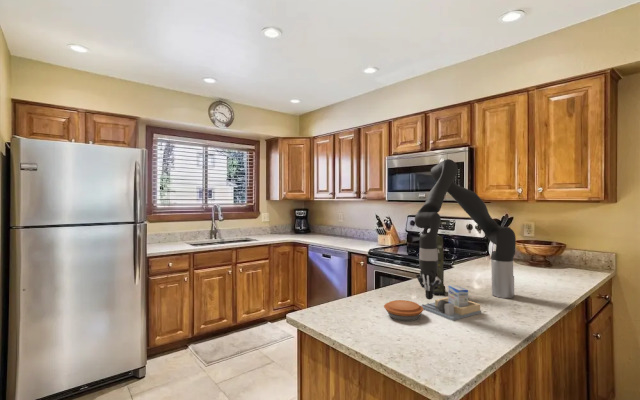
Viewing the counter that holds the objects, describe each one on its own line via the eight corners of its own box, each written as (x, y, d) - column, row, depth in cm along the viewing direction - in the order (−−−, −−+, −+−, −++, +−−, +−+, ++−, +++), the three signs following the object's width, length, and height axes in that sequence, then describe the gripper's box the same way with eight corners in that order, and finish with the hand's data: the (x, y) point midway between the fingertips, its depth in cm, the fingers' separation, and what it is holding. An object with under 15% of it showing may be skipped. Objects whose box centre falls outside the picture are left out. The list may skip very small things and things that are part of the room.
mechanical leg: (448, 296, 155) (445, 233, 162) (432, 295, 157) (430, 233, 164) (443, 294, 168) (441, 236, 175) (429, 294, 170) (426, 236, 177)
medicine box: (447, 305, 142) (447, 285, 142) (457, 304, 143) (457, 284, 143) (458, 311, 134) (458, 290, 134) (468, 310, 135) (468, 289, 135)
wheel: (445, 309, 136) (444, 299, 136) (450, 311, 133) (450, 300, 133) (437, 311, 134) (437, 300, 134) (442, 313, 131) (442, 302, 131)
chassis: (447, 301, 150) (447, 290, 150) (481, 313, 135) (480, 300, 135) (420, 307, 142) (419, 296, 142) (452, 320, 127) (452, 307, 127)
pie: (395, 325, 123) (395, 311, 123) (377, 311, 138) (377, 299, 138) (431, 320, 127) (431, 308, 127) (410, 308, 142) (410, 296, 142)
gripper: (410, 257, 144) (411, 296, 145) (434, 261, 133) (435, 304, 133) (423, 255, 148) (423, 293, 148) (447, 259, 136) (448, 301, 137)
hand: (429, 298), depth 141 cm, fingers closed
